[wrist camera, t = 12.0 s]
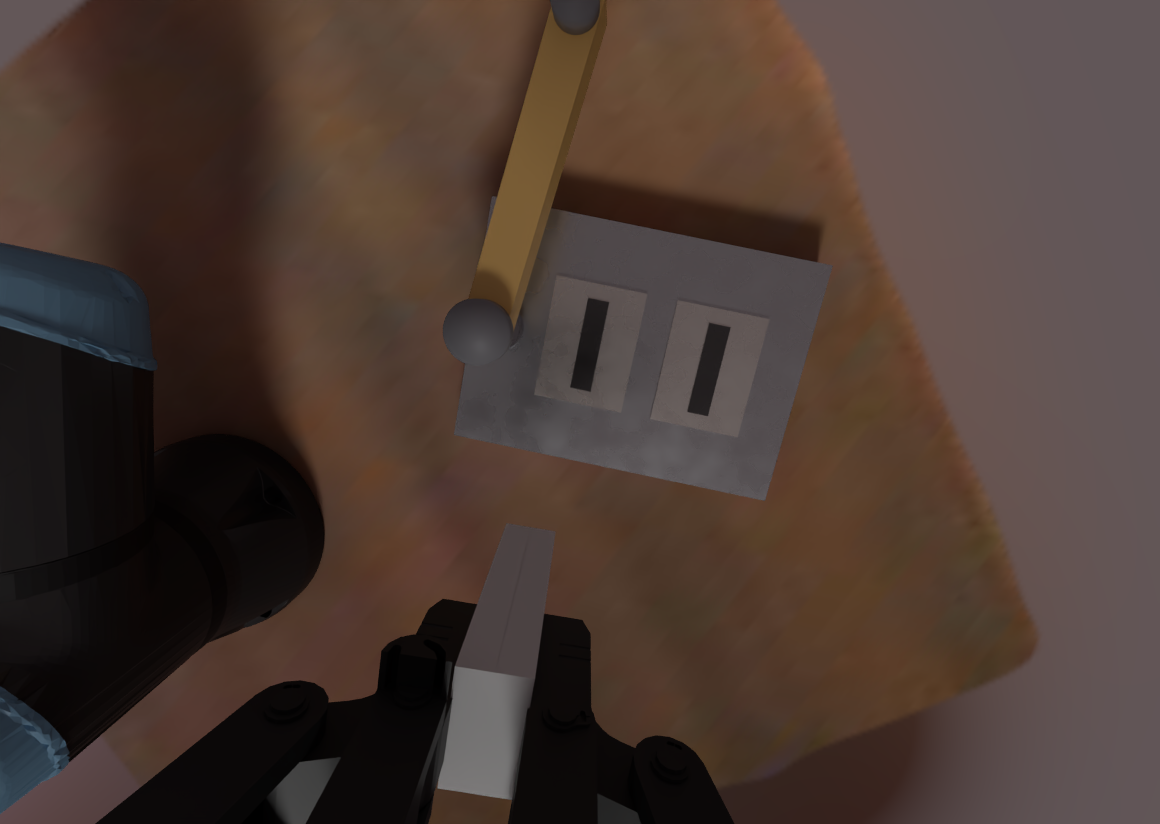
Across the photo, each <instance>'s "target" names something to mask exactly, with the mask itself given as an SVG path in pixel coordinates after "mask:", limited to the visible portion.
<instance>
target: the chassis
mask: <svg viewBox="0 0 1160 824" xmlns="http://www.w3.org/2000/svg"><path fill="white" fill-rule="evenodd" d="M496 200H497V197H494V196H492V199H491V206H490V212H489V218H488V224H487V231H488V228H489V224H490V221H491V217H492V214H493V210H494V207H495V203H496ZM487 231H486V235H487ZM485 238H486V237H485ZM831 270H832V265H827V264H822V263H817V262H812V261H808V260H803V259H798V258H793V257H788V256H783V255H778V254H773V253H768V252H763V251H759V250H754V249H749V248H744V247H739V246H734V245H729V244H724V243H719V242H714V241H710V240H705V239H700V238H695V237H690V236H685V235H680V234H675V233H670V232H665V231H661V230H656V229H651V228H646V227H641V226H636V225H631V224H626V223H621V222H616V221H612V220H607V219H602V218H597V217H592V216H587V215H582V214H577V213H572V212H567V211H563V210H558V209H553V208H551V210H550V213H549V217H548V220H547V223H546V227H545V230H544V233H543V236H542V240H541V243H540V246H539V250H538V253H537V256H536V259H535V263H534V266H533V269H532V273H531V276H530V279H529V282H528V286H527V289H526V292H525V296H524V299H523V302H522V306H521V309H520V312H519V315H518V319H517V322H516V325H515V329H514V334H513V340H512V343H511V346H510V348H509V349H508V351H507V352H506V353H505V354H504V355H503V356H502V357H500V358H499V359H497V360H495V361H493V362H491V363H489V364H486V365H480V366H474V365H469V364H466V363H465V369H464V375H463V381H462V388H461V394H460V400H459V407H458V413H457V419H456V425H455V432H454V435H457V436H462V437H467V438H472V439H476V440H481V441H486V442H490V443H495V444H500V445H505V446H509V447H514V448H519V449H523V450H528V451H533V452H538V453H542V454H547V455H552V456H556V457H561V458H566V459H571V460H575V461H580V462H585V463H589V464H594V465H599V466H604V467H608V468H613V469H618V470H622V471H627V472H632V473H637V474H641V475H646V476H651V477H656V478H660V479H665V480H670V481H674V482H679V483H684V484H689V485H693V486H698V487H703V488H707V489H712V490H717V491H722V492H726V493H731V494H736V495H740V496H745V497H750V498H755V499H759V500H764V501H765V499H766V495H767V492H768V488H769V485H770V481H771V478H772V474H773V471H774V467H775V464H776V460H777V457H778V453H779V450H780V446H781V443H782V440H783V436H784V433H785V429H786V426H787V422H788V419H789V415H790V412H791V408H792V405H793V401H794V398H795V394H796V391H797V388H798V384H799V381H800V377H801V374H802V370H803V367H804V363H805V360H806V356H807V353H808V349H809V346H810V342H811V339H812V335H813V332H814V329H815V325H816V322H817V318H818V315H819V311H820V308H821V304H822V301H823V297H824V294H825V290H826V287H827V283H828V280H829V277H830V273H831Z"/></svg>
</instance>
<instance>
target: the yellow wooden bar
mask: <svg viewBox="0 0 1160 824" xmlns="http://www.w3.org/2000/svg"><path fill="white" fill-rule="evenodd" d="M550 2H551V9H550V12H549V16H548V19H547V23H546V26H545V30H544V33H543V37H542V40H541V44H540V47H539V51H538V55H537V58H536V62H535V65H534V69H533V72H532V76H531V79H530V83H529V86H528V90H527V93H526V97H525V101H524V104H523V108H522V111H521V115H520V118H519V122H518V125H517V129H516V132H515V136H514V139H513V143H512V146H511V150H510V154H509V157H508V161H507V164H506V168H505V171H504V175H503V178H502V182H501V185H500V189H499V192H498V196H497V200H496V203H495V207H494V210H493V214H492V217H491V221H490V224H489V228H488V231H487V235H486V238H485V242H484V245H483V249H482V253H481V256H480V260H479V263H478V267H477V270H476V274H475V277H474V281H473V284H472V288H471V291H470V295H469V299H467V300H464V301H461V302H459V303H458V304H456V305H455V306H454V307H453V308H452V309H451V310H450V311H449V312H448V314H447V316H446V318H445V321H444V325H443V337H444V341H445V344H446V346H447V348H448V350H449V351H450V352H451V354H452V355H453V356H454V357H455V358H457V359H458V360H459V361H461V362H463V363H466V364H469V365H474V366H480V365H486V364H489V363H491V362H493V361H495V360H497V359H499V358H500V357H502V356H503V355H504V354H505V353H506V352H507V351H508V349H509V348H510V346H511V343H512V340H513V334H514V329H515V325H516V322H517V319H518V315H519V312H520V309H521V306H522V302H523V299H524V296H525V292H526V289H527V286H528V282H529V279H530V276H531V273H532V269H533V266H534V263H535V259H536V256H537V253H538V250H539V246H540V243H541V240H542V236H543V233H544V230H545V227H546V223H547V220H548V217H549V213H550V210H551V207H552V204H553V200H554V197H555V194H556V190H557V187H558V184H559V181H560V177H561V174H562V171H563V167H564V164H565V161H566V158H567V154H568V151H569V148H570V144H571V141H572V138H573V134H574V131H575V128H576V125H577V121H578V118H579V115H580V111H581V108H582V105H583V102H584V98H585V95H586V92H587V88H588V85H589V82H590V79H591V75H592V72H593V69H594V65H595V62H596V59H597V56H598V52H599V49H600V46H601V42H602V39H603V36H604V33H605V29H606V26H607V11H606V0H550Z"/></svg>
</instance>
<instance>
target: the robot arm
mask: <svg viewBox="0 0 1160 824" xmlns="http://www.w3.org/2000/svg"><path fill="white" fill-rule="evenodd" d="M154 370H157V361H156V360H155V359H154V358H153V353H152V342H151V331H150V319H149V306H148V302H147V299H146V296H145V294H144V292H143V291H142V289H141V288H140V287H139V285H138V284H137V283H136V282H135V281H134V280H132V279H131V278H130V277H128V276H127V275H125V274H124V273H122V272H120V271H118V270H116V269H114V268H111V267H108V266H104V265H100V264H96V263H92V262H88V261H84V260H79V259H75V258H70V257H66V256H61V255H57V254H52V253H47V252H43V251H38V250H34V249H29V248H24V247H20V246H15V245H10V244H5V243H0V814H1V813H2V812H3V811H5V810H6V809H7V808H8V807H10V806H11V805H13V804H14V803H15V802H16V801H18V800H19V799H20V798H22V797H23V796H24V795H25V794H27V793H28V792H29V791H31V790H32V789H33V788H34V787H36V786H37V785H38V784H40V783H41V782H42V781H46V780H48V779H49V778H52V777H54V776H55V775H57V774H59V773H60V772H61V771H62V770H63V769H64V768H65V767H66V766H67V765H68V763H69V762H70V761H71V760H72V759H73V758H75V757H76V756H77V755H78V754H79V753H80V752H82V751H83V750H84V749H85V748H86V747H87V746H89V745H90V744H91V743H92V742H93V741H94V740H96V739H97V738H98V737H99V736H100V735H101V734H102V733H104V732H105V731H106V730H107V729H108V728H109V727H111V726H112V725H113V724H114V723H115V722H116V721H117V720H119V719H120V718H121V717H122V716H123V715H124V714H126V713H127V712H128V711H129V710H130V709H131V708H132V707H134V706H135V705H136V704H137V703H138V702H139V701H141V700H142V699H143V698H144V697H145V696H146V695H147V694H149V693H150V692H151V691H152V690H153V689H154V688H155V687H157V686H158V685H159V684H160V683H161V682H162V681H164V680H165V679H166V678H167V677H168V676H169V675H170V674H172V673H173V672H174V671H175V670H176V669H177V668H179V667H180V666H181V665H182V664H183V663H184V662H185V661H187V660H188V659H189V658H190V657H191V656H192V655H193V654H195V653H196V652H197V651H198V650H199V649H201V648H202V647H203V646H204V645H205V644H207V643H209V642H211V641H214V640H216V639H219V638H221V637H224V636H227V635H229V634H232V633H234V632H236V631H239V630H241V629H242V628H245V627H249V626H252V625H255V624H257V623H260V622H262V621H264V620H266V619H268V618H270V617H272V616H273V615H275V614H277V613H278V612H280V611H281V610H282V609H284V608H285V607H286V606H287V605H288V604H289V603H290V602H291V601H292V600H294V599H295V598H296V597H297V596H298V595H299V594H300V593H301V592H302V591H303V590H304V589H305V588H306V587H307V585H308V584H309V583H310V581H311V580H312V578H313V577H314V575H315V573H316V571H317V569H318V566H319V564H320V560H321V557H322V552H323V543H324V532H323V524H322V518H321V514H320V511H319V508H318V505H317V502H316V500H315V498H314V496H313V494H312V492H311V490H310V488H309V487H308V485H307V484H306V482H305V481H304V480H303V478H302V477H301V476H300V474H299V473H298V472H297V471H296V470H295V469H294V468H293V467H292V466H291V465H290V464H289V463H288V462H287V461H286V460H285V459H283V458H282V457H281V456H279V455H278V454H277V453H275V452H273V451H272V450H270V449H269V448H267V447H265V446H263V445H261V444H259V443H256V442H254V441H251V440H248V439H245V438H242V437H238V436H232V435H224V434H211V435H202V436H197V437H193V438H190V439H187V440H184V441H181V442H177V443H174V444H171V445H169V446H166V447H164V448H162V449H160V450H158V451H156V452H154V430H153V377H154ZM554 538H555V531H549V530H543V529H537V528H531V527H525V526H519V525H513V524H506V526H505V529H504V532H503V535H502V537H501V540H500V543H499V546H498V548H497V551H496V554H495V557H494V559H493V562H492V565H491V568H490V571H489V573H488V576H487V579H486V582H485V584H484V587H483V590H482V593H481V595H480V598H479V601H478V604H472V603H466V602H459V601H453V600H447V599H442V600H441V601H439V602H438V603H436V604H435V605H434V606H432V607H431V608H430V609H429V610H428V612H427V614H426V615H425V617H424V619H423V621H422V625H420V627H419V629H418V631H417V633H416V635H409V636H404V637H400V638H398V639H396V640H394V641H392V642H390V643H388V645H387V646H386V647H385V648H384V649H383V650H382V651H381V660H380V669H379V678H378V688H377V691H376V693H375V694H373V695H371V696H368V697H365V698H362V699H357V700H351V701H341V702H330V703H328V699H329V698H328V696H327V694H326V692H325V690H324V689H323V688H321V687H320V686H318V685H317V684H315V683H311V682H306V681H301V680H300V681H288V682H283V683H279V684H276V685H273V686H270V687H268V688H266V689H265V690H263V691H261V692H260V693H258V694H256V695H255V696H254V697H253V698H251V699H250V700H249V701H248V702H246V703H245V704H244V705H243V706H241V707H240V708H239V709H238V710H236V711H235V712H234V713H233V714H231V715H230V716H229V717H228V718H226V719H225V720H224V721H223V722H221V723H220V724H219V725H218V726H217V727H215V728H214V729H213V730H212V731H210V732H209V733H208V734H207V735H205V736H204V737H203V738H202V739H200V740H199V741H198V742H197V743H195V744H194V745H193V746H192V747H190V748H189V749H188V750H187V751H185V752H184V753H183V754H182V755H180V756H179V757H178V758H177V759H175V760H174V761H173V762H172V763H170V764H169V765H168V766H167V767H165V768H164V769H163V770H162V771H160V772H159V773H158V774H157V775H155V776H154V777H153V778H152V779H151V780H149V781H148V782H147V783H146V784H144V785H143V786H142V787H141V788H139V789H138V790H137V791H136V792H135V793H133V794H132V795H131V796H129V797H128V798H127V799H126V800H124V801H123V802H122V803H121V804H119V805H118V806H117V807H116V808H114V809H113V810H112V811H111V812H109V813H108V814H107V815H106V816H104V817H103V818H102V819H101V820H99V821H98V822H97V823H96V824H428V823H429V819H430V816H431V810H432V803H433V796H434V791H435V788H436V784H437V781H438V778H439V782H438V788H439V789H446V790H452V791H459V792H465V793H472V794H478V795H484V796H491V797H497V798H504V799H510V800H512V804H511V809H510V815H509V821H508V824H734V822H733V820H732V818H731V816H730V814H729V812H728V810H727V808H726V807H725V805H724V803H723V801H722V799H721V797H720V795H719V793H718V791H717V789H716V787H715V785H714V783H713V781H712V779H711V777H710V775H709V773H708V771H707V769H706V767H705V765H704V763H703V762H702V761H701V759H700V758H699V757H698V755H697V754H696V753H695V752H694V751H693V750H692V749H691V748H689V747H688V746H687V745H685V744H684V743H682V742H680V741H678V740H675V739H673V738H671V737H665V736H652V737H648V738H645V739H643V740H642V741H641V742H640V743H638V744H637V746H636V748H634V747H631V746H629V745H627V744H625V743H622V742H620V741H618V740H617V739H615V738H613V737H611V736H610V735H608V734H607V733H606V732H605V731H604V730H602V728H601V727H600V726H599V725H598V724H597V722H596V720H595V717H594V713H593V712H592V709H591V663H590V661H591V651H590V649H591V637H590V632H589V630H588V629H587V627H586V625H585V624H584V622H583V620H579V619H573V618H567V617H561V616H555V615H548V614H544V610H545V603H546V596H547V589H548V582H549V574H550V567H551V560H552V553H553V546H554Z"/></svg>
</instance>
